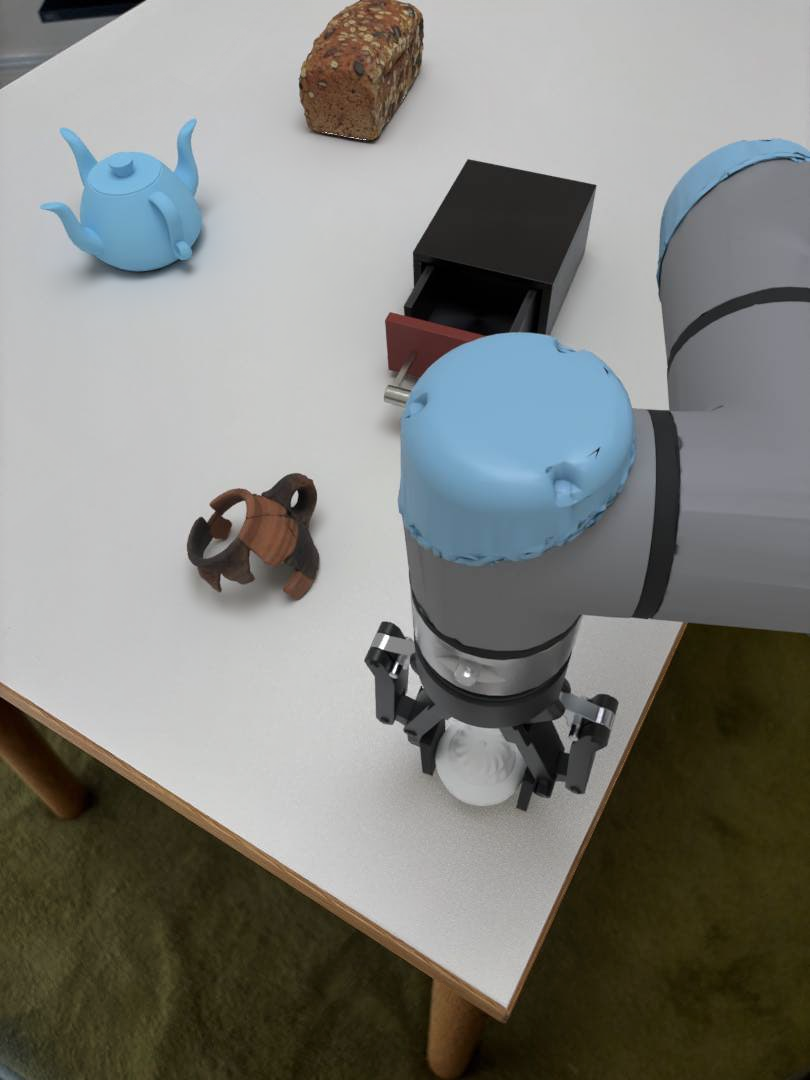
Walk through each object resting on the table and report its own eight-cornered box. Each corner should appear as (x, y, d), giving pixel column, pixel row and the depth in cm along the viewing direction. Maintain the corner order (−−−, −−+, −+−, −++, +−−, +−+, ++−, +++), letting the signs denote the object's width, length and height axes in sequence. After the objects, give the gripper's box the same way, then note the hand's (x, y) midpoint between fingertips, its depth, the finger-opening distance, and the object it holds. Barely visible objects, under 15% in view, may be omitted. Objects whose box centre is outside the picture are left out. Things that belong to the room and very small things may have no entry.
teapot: (204, 283, 89) (180, 199, 81) (67, 289, 89) (28, 206, 81) (217, 200, 97) (196, 115, 88) (91, 205, 97) (57, 121, 89)
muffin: (525, 735, 59) (533, 699, 53) (523, 822, 56) (531, 794, 50) (439, 729, 60) (437, 692, 54) (432, 814, 56) (430, 785, 51)
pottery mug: (287, 635, 66) (216, 589, 61) (227, 601, 73) (158, 556, 67) (365, 513, 69) (304, 457, 63) (300, 491, 76) (240, 438, 70)
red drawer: (490, 452, 74) (494, 404, 69) (362, 416, 77) (357, 367, 71) (555, 302, 84) (563, 250, 79) (440, 275, 87) (440, 223, 82)
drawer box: (543, 350, 82) (552, 284, 75) (414, 318, 85) (412, 251, 78) (584, 253, 90) (596, 184, 83) (465, 226, 93) (467, 158, 86)
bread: (378, 147, 102) (373, 65, 93) (300, 133, 104) (288, 51, 95) (428, 70, 111) (427, -12, 102) (354, 58, 113) (348, -23, 105)
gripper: (274, 629, 39) (334, 775, 58) (684, 773, 34) (600, 879, 53) (339, 506, 42) (375, 682, 62) (717, 621, 38) (627, 772, 57)
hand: (479, 773), depth 58 cm, fingers closed on muffin, 6 cm apart
